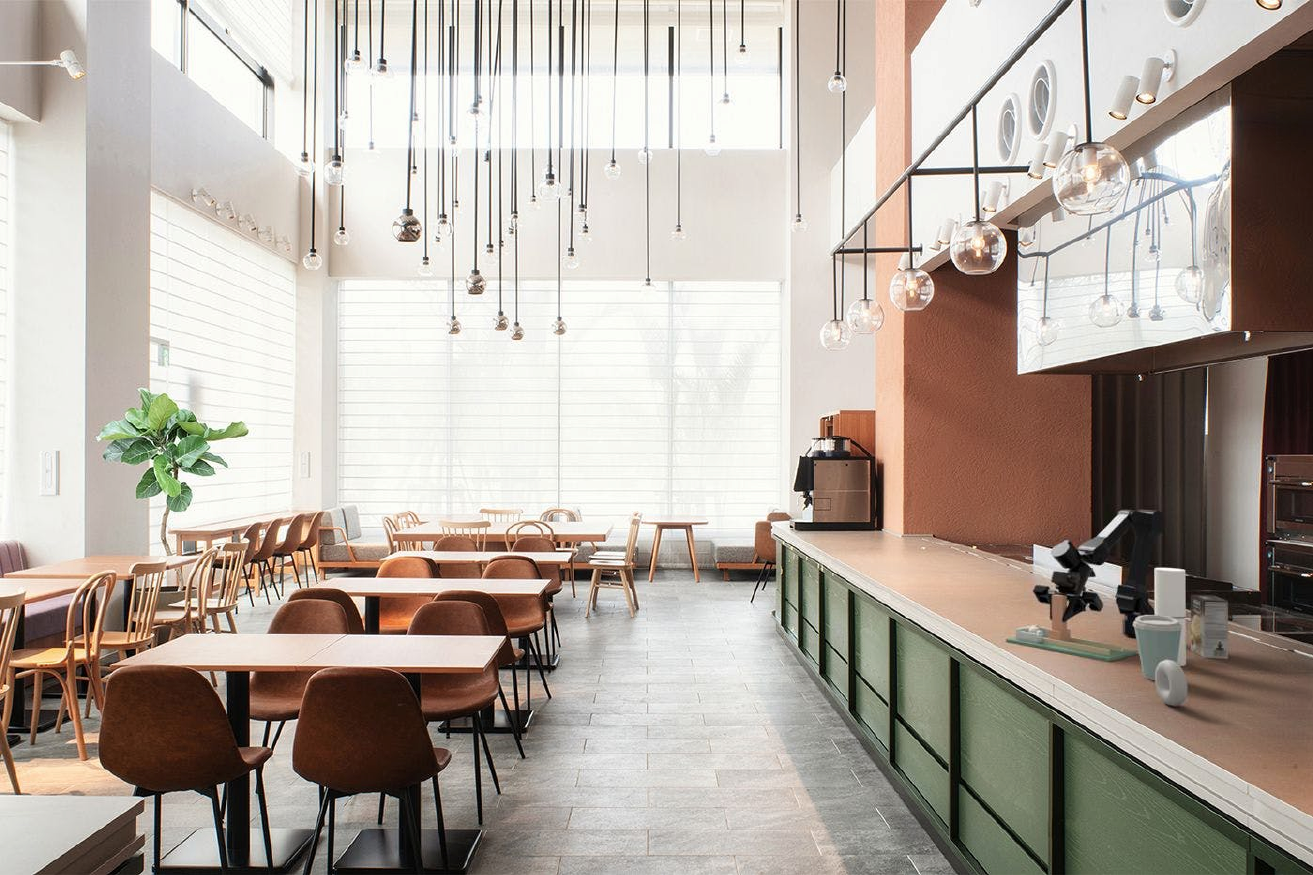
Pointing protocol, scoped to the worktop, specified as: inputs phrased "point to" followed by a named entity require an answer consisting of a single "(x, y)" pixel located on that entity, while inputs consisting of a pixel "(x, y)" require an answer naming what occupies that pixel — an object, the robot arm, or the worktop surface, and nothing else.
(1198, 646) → the coffee box
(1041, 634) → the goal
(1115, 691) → the worktop surface
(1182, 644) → the cylindrical container
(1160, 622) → the disposable coffee cup
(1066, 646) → the board
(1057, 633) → the player
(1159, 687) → the donut
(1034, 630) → the ball
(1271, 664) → the worktop surface
